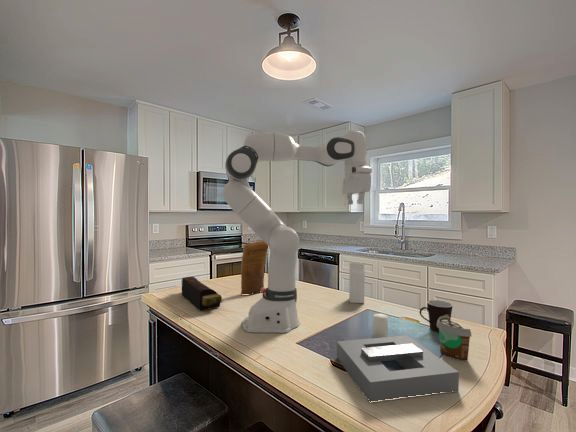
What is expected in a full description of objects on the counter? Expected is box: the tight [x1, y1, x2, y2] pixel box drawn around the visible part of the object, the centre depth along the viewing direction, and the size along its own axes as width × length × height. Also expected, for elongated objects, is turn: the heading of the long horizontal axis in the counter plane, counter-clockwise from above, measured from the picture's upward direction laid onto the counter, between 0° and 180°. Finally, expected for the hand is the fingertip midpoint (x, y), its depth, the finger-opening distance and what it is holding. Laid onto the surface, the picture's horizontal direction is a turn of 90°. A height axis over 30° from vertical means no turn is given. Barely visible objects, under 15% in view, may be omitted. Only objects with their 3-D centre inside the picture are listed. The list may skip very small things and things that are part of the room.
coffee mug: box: [418, 299, 454, 333], centre depth 114 cm, size 12×9×10 cm
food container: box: [437, 316, 472, 361], centre depth 95 cm, size 12×6×10 cm, turn 5°
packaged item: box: [181, 276, 223, 312], centre depth 147 cm, size 39×10×10 cm, turn 34°
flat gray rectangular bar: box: [361, 344, 423, 362], centre depth 83 cm, size 16×5×2 cm, turn 101°
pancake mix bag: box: [240, 240, 269, 295], centre depth 161 cm, size 7×19×28 cm, turn 136°
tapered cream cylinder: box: [372, 313, 389, 338], centre depth 105 cm, size 5×5×8 cm
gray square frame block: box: [336, 335, 460, 403], centre depth 83 cm, size 24×22×5 cm
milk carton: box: [348, 262, 366, 304], centre depth 148 cm, size 7×7×19 cm
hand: (355, 204), depth 124 cm, fingers open, 8 cm apart
